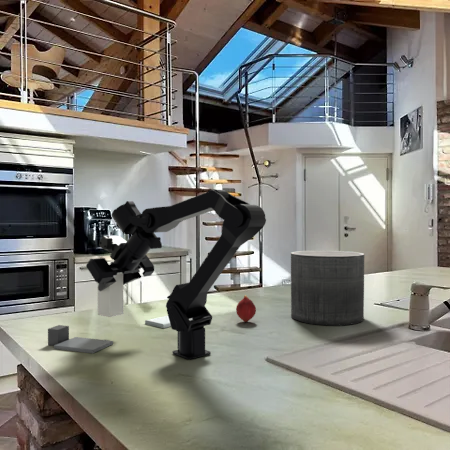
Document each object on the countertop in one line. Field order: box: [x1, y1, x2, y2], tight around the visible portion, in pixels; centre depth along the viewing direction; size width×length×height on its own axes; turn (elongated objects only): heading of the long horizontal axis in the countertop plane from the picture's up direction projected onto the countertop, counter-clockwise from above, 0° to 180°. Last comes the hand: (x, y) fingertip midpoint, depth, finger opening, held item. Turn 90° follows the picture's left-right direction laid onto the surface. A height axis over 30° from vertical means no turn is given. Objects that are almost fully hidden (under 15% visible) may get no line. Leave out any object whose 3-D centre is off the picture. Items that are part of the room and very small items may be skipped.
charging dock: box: [47, 324, 114, 354], centre depth 110 cm, size 14×8×4 cm, turn 70°
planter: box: [290, 250, 365, 327], centre depth 140 cm, size 22×22×20 cm
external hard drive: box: [144, 315, 193, 329], centre depth 135 cm, size 2×8×12 cm
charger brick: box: [97, 273, 124, 318], centre depth 118 cm, size 5×5×12 cm
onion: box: [235, 294, 257, 323], centre depth 135 cm, size 6×6×8 cm
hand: (106, 288), depth 119 cm, fingers closed on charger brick, 5 cm apart
